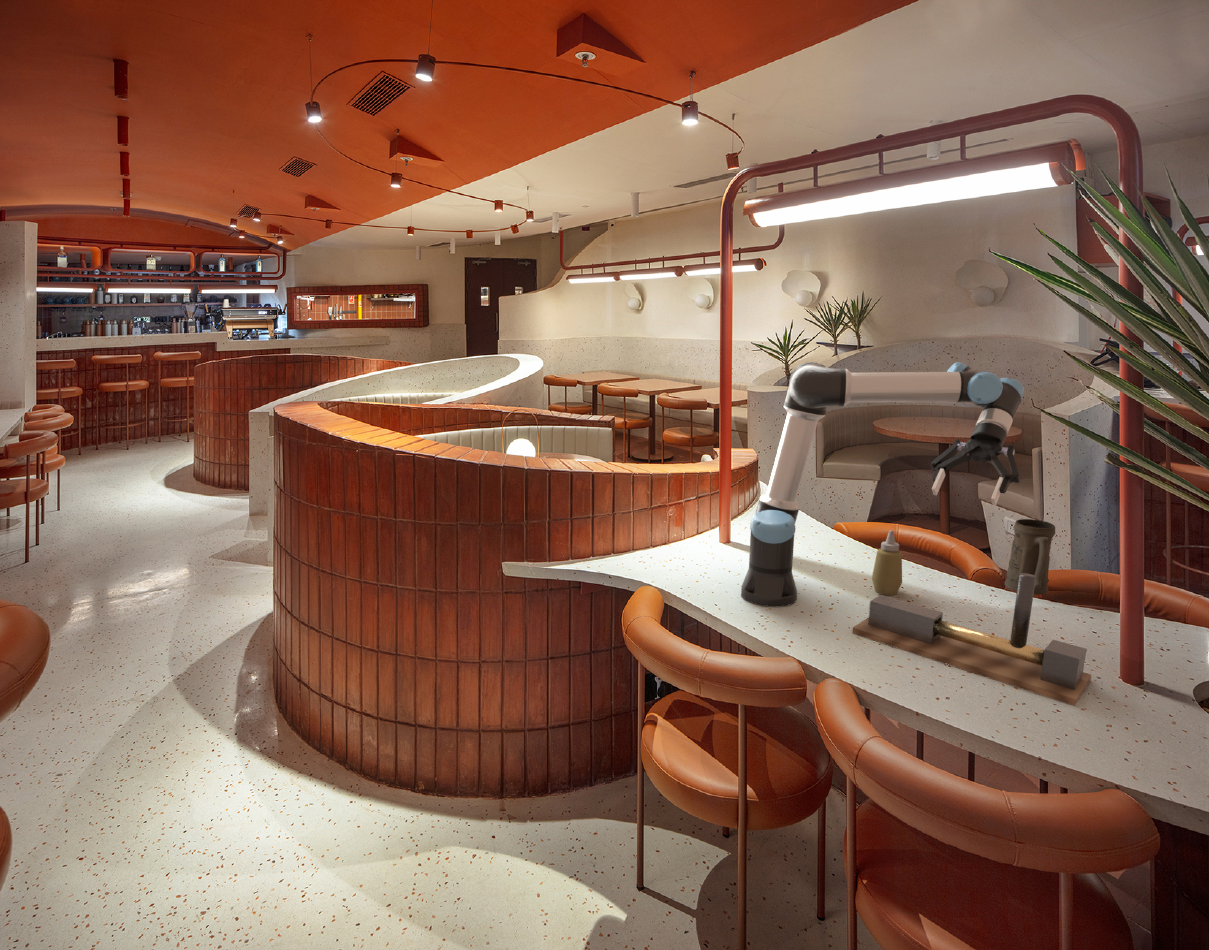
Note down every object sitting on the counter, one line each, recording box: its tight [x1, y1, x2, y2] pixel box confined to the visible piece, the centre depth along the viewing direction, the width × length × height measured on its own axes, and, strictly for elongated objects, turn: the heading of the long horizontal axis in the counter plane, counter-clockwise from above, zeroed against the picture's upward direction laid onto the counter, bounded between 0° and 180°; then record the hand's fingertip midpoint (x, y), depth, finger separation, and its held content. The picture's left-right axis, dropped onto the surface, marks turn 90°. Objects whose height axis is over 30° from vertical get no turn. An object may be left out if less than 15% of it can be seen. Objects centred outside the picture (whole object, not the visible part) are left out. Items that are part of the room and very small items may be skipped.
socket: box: [1040, 639, 1088, 690], centre depth 140 cm, size 6×7×7 cm
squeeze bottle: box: [871, 530, 903, 596], centre depth 190 cm, size 8×8×18 cm
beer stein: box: [1004, 518, 1056, 596], centre depth 191 cm, size 15×11×20 cm
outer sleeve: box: [868, 594, 944, 644], centre depth 162 cm, size 15×6×6 cm, turn 45°
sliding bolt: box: [934, 573, 1045, 666], centre depth 147 cm, size 27×3×19 cm, turn 45°
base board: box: [851, 616, 1092, 707], centre depth 154 cm, size 46×14×2 cm, turn 45°
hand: (962, 497), depth 165 cm, fingers open, 13 cm apart
